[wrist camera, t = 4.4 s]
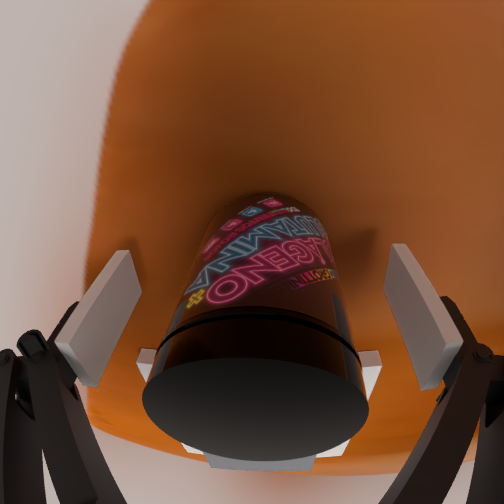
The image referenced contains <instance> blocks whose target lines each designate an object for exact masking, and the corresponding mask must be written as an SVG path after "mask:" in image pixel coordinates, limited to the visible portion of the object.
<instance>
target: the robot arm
mask: <svg viewBox="0 0 504 504" xmlns="http://www.w3.org/2000/svg"><path fill="white" fill-rule="evenodd" d="M383 291H384V293H385V295H386V298H387V300H388V302H389V305H390V307H391V310H392V312H393V315H394V317H395V320H396V322H397V325H398V327H399V330H400V332H401V335H402V338H403V340H404V343H405V346H406V348H407V351H408V354H409V356H410V359H411V362H412V365H413V368H414V371H415V374H416V376H417V379H418V382H419V385H420V389H421V391H422V390H427V389H432V388H437V387H438V385H439V384H440V382H441V381H442V379H443V381H444V383H445V388H444V389H443V391H442V392H441V394H440V395H439V397H438V398H437V400H436V401H437V404H436V406H435V409H434V411H433V413H432V415H431V417H430V419H429V421H428V423H427V425H426V427H425V429H424V431H423V433H422V435H421V436H420V438H419V440H418V442H417V444H416V446H415V447H414V449H413V451H412V453H411V454H410V456H409V458H408V459H407V461H406V463H405V464H404V466H403V468H402V469H401V471H400V473H399V474H398V476H397V477H396V479H395V480H394V482H393V483H392V485H391V486H390V488H389V489H388V491H387V492H386V494H385V495H384V497H383V498H382V499H381V501H380V502H379V504H442V503H443V501H444V499H445V497H446V495H447V493H448V491H449V489H450V487H451V485H452V483H453V481H454V479H455V477H456V475H457V473H458V471H459V469H460V466H461V464H462V462H463V459H464V457H465V455H466V452H467V450H468V447H469V445H470V442H471V440H472V437H473V434H474V432H475V429H476V426H477V423H478V420H479V417H480V426H479V436H478V444H477V451H476V457H475V463H474V469H473V474H472V479H471V485H470V489H469V493H468V498H467V501H466V504H504V356H500V355H494V354H493V352H492V350H491V349H490V348H489V347H487V346H486V345H484V344H480V343H477V341H476V339H475V337H474V335H473V333H472V332H471V330H470V328H469V326H468V324H467V323H466V321H465V320H464V318H463V316H462V314H461V313H460V311H459V309H458V307H457V306H456V304H455V303H454V302H453V301H452V300H451V299H450V298H448V297H447V296H442V297H439V296H438V294H437V292H436V291H435V289H434V287H433V286H432V284H431V282H430V281H429V279H428V278H427V276H426V274H425V273H424V271H423V270H422V268H421V266H420V265H419V263H418V262H417V260H416V259H415V257H414V256H413V254H412V253H411V251H410V250H409V248H408V247H407V245H406V244H405V243H400V244H392V245H391V250H390V255H389V261H388V266H387V271H386V275H385V280H384V285H383ZM141 294H142V290H141V287H140V284H139V281H138V277H137V274H136V271H135V268H134V264H133V261H132V257H131V254H130V250H117V251H116V252H115V253H114V255H113V256H112V257H111V259H110V260H109V261H108V263H107V264H106V265H105V267H104V268H103V270H102V271H101V272H100V274H99V275H98V276H97V278H96V279H95V281H94V282H93V283H92V285H91V286H90V288H89V289H88V291H87V292H86V293H85V295H84V296H83V298H82V299H81V301H80V302H75V303H74V304H73V305H72V306H71V307H69V308H68V310H67V311H66V313H65V314H64V316H63V317H62V319H61V320H60V322H59V324H58V325H57V326H56V328H55V329H54V331H53V332H52V334H51V336H50V337H49V339H48V340H47V342H46V340H45V338H44V337H43V335H42V333H41V332H40V331H39V330H30V331H27V332H26V333H24V334H23V335H22V336H21V337H20V338H19V340H18V342H17V348H18V349H19V350H20V352H21V354H22V355H23V356H18V357H17V356H16V355H15V353H14V352H13V350H11V349H4V350H2V351H0V504H47V503H46V495H45V487H44V475H43V461H42V449H43V453H44V457H45V460H46V464H47V467H48V470H49V473H50V476H51V480H52V483H53V485H54V488H55V491H56V494H57V496H58V499H59V502H60V504H127V503H126V501H125V499H124V497H123V495H122V493H121V492H120V490H119V488H118V486H117V484H116V482H115V480H114V478H113V476H112V474H111V472H110V470H109V467H108V465H107V463H106V461H105V459H104V457H103V454H102V452H101V450H100V447H99V445H98V443H97V440H96V438H95V435H94V433H93V430H92V428H91V425H90V423H89V420H88V417H87V415H86V412H85V409H84V407H83V403H82V401H81V397H80V394H79V391H78V388H77V386H76V385H75V383H74V382H75V380H76V378H77V377H78V379H79V380H80V382H81V383H82V384H83V385H85V386H90V387H95V388H97V387H98V384H99V382H100V380H101V377H102V375H103V373H104V371H105V368H106V366H107V364H108V362H109V360H110V357H111V355H112V353H113V351H114V349H115V347H116V345H117V342H118V340H119V338H120V336H121V334H122V332H123V330H124V328H125V326H126V324H127V322H128V320H129V318H130V316H131V314H132V312H133V310H134V308H135V306H136V304H137V302H138V300H139V298H140V296H141ZM15 394H16V395H17V397H16V399H15ZM480 414H481V415H480Z"/></svg>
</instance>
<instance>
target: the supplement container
mask: <svg viewBox="0 0 504 504" xmlns="http://www.w3.org/2000/svg"><path fill="white" fill-rule="evenodd" d="M142 401H143V406H144V409H145V411H146V413H147V415H148V416H149V417H150V419H151V420H152V421H153V422H154V423H155V425H157V426H158V427H159V428H160V429H161V430H162V431H164V432H165V433H166V434H168V435H169V436H171V437H172V438H174V439H176V440H177V441H179V442H181V443H183V444H185V445H187V446H190V447H192V448H195V449H197V450H200V451H203V452H206V453H209V454H213V455H217V456H221V457H226V458H231V459H238V460H246V461H284V460H292V459H298V458H304V457H308V456H312V455H316V454H319V453H322V452H325V451H328V450H330V449H332V448H335V447H337V446H339V445H341V444H342V443H344V442H346V441H347V440H349V439H350V438H352V437H353V436H354V435H355V434H356V433H357V432H358V431H359V430H360V429H361V428H362V427H363V425H364V424H365V422H366V420H367V417H368V413H369V406H368V400H367V395H366V389H365V384H364V379H363V370H362V364H361V359H360V357H359V354H358V352H357V350H356V346H355V341H354V337H353V332H352V328H351V323H350V319H349V315H348V311H347V307H346V303H345V299H344V295H343V291H342V287H341V283H340V279H339V275H338V271H337V268H336V264H335V260H334V257H333V253H332V249H331V246H330V242H329V239H328V235H327V232H326V230H325V227H324V225H323V224H322V222H321V220H320V219H319V218H318V216H317V215H316V214H315V213H314V212H313V211H312V210H311V209H310V208H308V207H307V206H306V205H304V204H303V203H301V202H299V201H297V200H295V199H293V198H291V197H287V196H284V195H280V194H274V193H257V194H251V195H247V196H243V197H240V198H238V199H236V200H234V201H232V202H230V203H228V204H227V205H226V206H224V207H223V208H222V209H221V210H219V211H218V213H217V214H216V215H215V216H214V217H213V219H212V220H211V222H210V224H209V225H208V228H207V230H206V232H205V235H204V237H203V239H202V242H201V244H200V247H199V249H198V251H197V254H196V256H195V259H194V261H193V264H192V266H191V269H190V271H189V274H188V276H187V279H186V281H185V284H184V286H183V289H182V291H181V294H180V296H179V299H178V301H177V304H176V306H175V309H174V312H173V314H172V317H171V320H170V322H169V325H168V327H167V330H166V333H165V335H164V338H163V339H162V340H161V342H160V344H159V346H158V348H157V351H156V354H155V358H154V362H153V365H152V368H151V371H150V374H149V376H148V379H147V382H146V385H145V388H144V391H143V395H142Z"/></svg>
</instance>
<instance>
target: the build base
mask: <svg viewBox="0 0 504 504" xmlns="http://www.w3.org/2000/svg"><path fill="white" fill-rule="evenodd" d="M156 351H157V350H154V349H144V348H142V349H141V351H140V354H139V356H138V359H137V361H136V364H137V366H138V368H139V370H140V372H141V374H142V376H143V377H144V379H145V381H146V382H147V379H148V376H149V374H150V371H151V368H152V365H153V362H154V358H155V354H156ZM358 354H359V357H360V359H361V364H362V370H363V379H364V384H365V389H366V395H367V400H368V399H369V397H370V395H371V392H372V390H373V387H374V385H375V383H376V380H377V378H378V375H379V372H380V370H381V367H382V363H381V359H380V356H379V352H378V350H375V351H362V352H358ZM349 440H350V439H349ZM349 440H347V441H346V442H344V443H342V444H341V445H339V446H337V447H335V448H332V449H330V450H328V451H325V452H322V453H319V454H316V455H312V456H308V457H304V458H298V459H292V460H284V461H246V460H238V459H231V458H226V457H221V456H217V455H213V454H209V453H206V452H203V451H200V450H197V449H195V448H192V447H190V446H187V445H185V444H183V443H182V445H183V446H184V448H185V449H186V451H187V452H190V453H198V454H204V456H205V457H206V459H207V461H208V463H209V464H210V466H211V468H221V469H233V470H251V471H308V470H311V469H312V467H313V464H314V461H315V458H316V457H330V456H342V454H343V452H344V450H345V448H346V446H347V444H348V442H349Z"/></svg>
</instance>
